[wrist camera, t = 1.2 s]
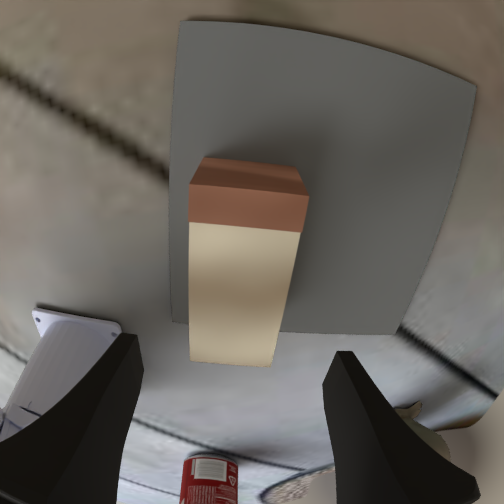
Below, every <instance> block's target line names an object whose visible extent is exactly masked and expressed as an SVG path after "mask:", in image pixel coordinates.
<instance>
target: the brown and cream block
mask: <svg viewBox="0 0 504 504" xmlns="http://www.w3.org/2000/svg"><path fill="white" fill-rule="evenodd" d="M308 201H309V194H308V192H307V190H306V188H305V186H304V183H303V181H302V179H301V177H300V175H299V173H298V171H297V169H296V167H294V166H286V165H278V164H269V163H260V162H251V161H241V160H230V159H218V158H206V157H203V159H202V161H201V163H200V164H199V166H198V168H197V170H196V172H195V174H194V176H193V178H192V180H191V181H190V183H189V201H188V222H189V345H190V361H196V362H206V363H217V364H228V365H241V366H256V367H271V363H272V359H273V355H274V351H275V347H276V342H277V338H278V334H279V330H280V325H281V321H282V317H283V312H284V308H285V303H286V299H287V295H288V290H289V285H290V281H291V276H292V272H293V267H294V262H295V258H296V253H297V248H298V243H299V238H300V233H302V231H303V226H304V221H305V216H306V211H307V206H308Z"/></svg>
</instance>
